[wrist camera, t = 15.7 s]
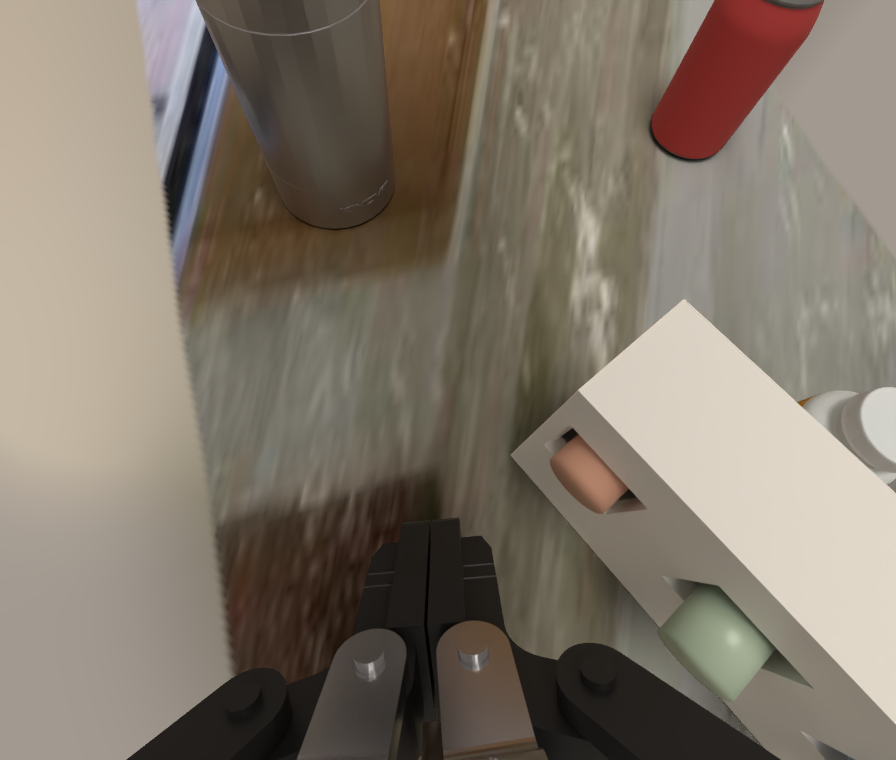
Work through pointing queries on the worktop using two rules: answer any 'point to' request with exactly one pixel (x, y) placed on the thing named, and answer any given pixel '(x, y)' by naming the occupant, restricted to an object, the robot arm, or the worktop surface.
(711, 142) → the beer can
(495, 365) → the worktop surface
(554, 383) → the worktop surface
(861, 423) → the supplement bottle
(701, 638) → the sage button
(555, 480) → the console
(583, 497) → the terracotta button
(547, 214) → the worktop surface
